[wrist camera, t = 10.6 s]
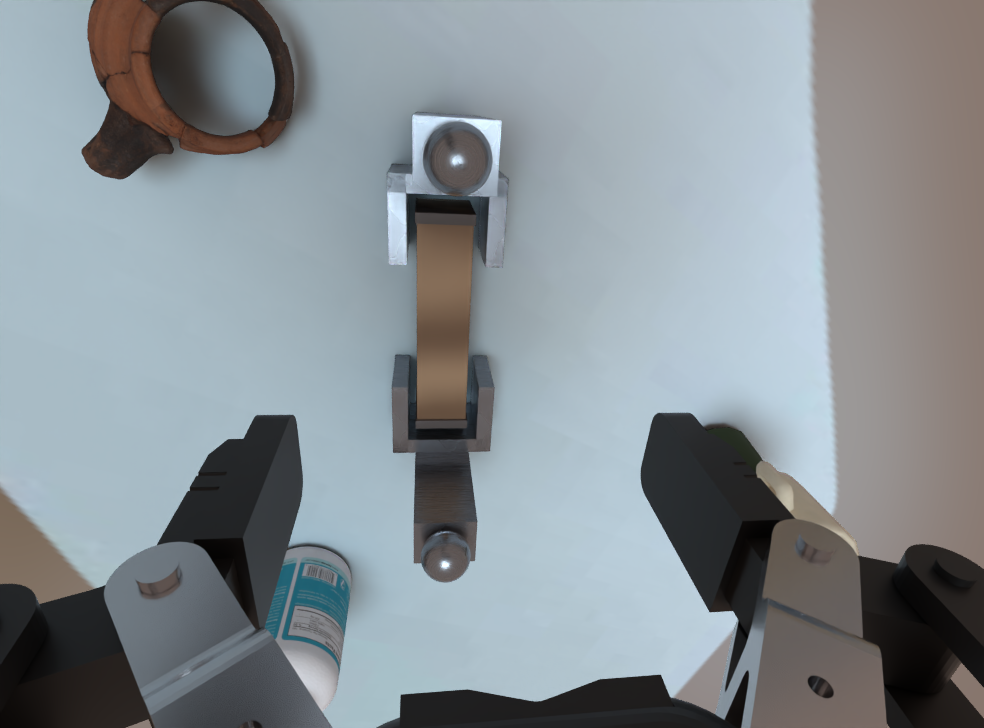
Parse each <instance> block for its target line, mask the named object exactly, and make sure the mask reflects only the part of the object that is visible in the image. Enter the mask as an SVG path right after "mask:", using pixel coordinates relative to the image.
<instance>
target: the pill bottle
mask: <svg viewBox="0 0 984 728" xmlns="http://www.w3.org/2000/svg"><path fill="white" fill-rule="evenodd" d="M351 580H352V579H351V573H350V570H349V568H348V566H347V564H346V563H345V562H344V561H343V560H342V559H341V558H340V557H339V556H338V555H336V554H335V553H333V552H331V551H328V550H326V549H322V548H318V547H297V548H293V549H289V550H287V551H286V555H285V558H284V562H283V565H282V569H281V572H280V576H279V579H278V583H277V586H276V590H275V593H274V597H273V600H272V604H271V607H270V611H269V614H268V618H267V621H266V625H265V628H266V629H267V630H268V631H269V632H270V633H271V635H272V636H273V637H274V639H275V640H276V642H277V643H278V645H279V647H280V648H281V650H282V651H283V653H284V654H285V656H286V657H287V659H288V660H289V662H290V663H291V665H292V666H293V668H294V670H295V671H296V673H297V674H298V676H299V677H300V679H301V680H302V682H303V683H304V685H305V686H306V688H307V690H308V691H309V693H310V694H311V696H312V697H313V699H314V700H315V702H316V703H317V705H318V706H319V708H320V709H321V711H323V710H324V709H325V708H326V707H327V706H328V705H329V704H330V702H331V701H332V699H333V697H334V695H335V693H336V689H337V685H338V678H339V672H340V664H341V657H342V650H343V642H344V635H345V628H346V621H347V613H348V606H349V599H350V591H351Z"/></svg>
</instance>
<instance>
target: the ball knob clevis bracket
mask: <svg viewBox="0 0 984 728" xmlns="http://www.w3.org/2000/svg"><path fill="white" fill-rule="evenodd" d="M501 122H502V121H501V120H495V119H490V118H485V117H480V116H471V115H455V114H439V113H424V112H416V113H415V114H413V115H412V133H413V165H404V164H392V165H391V167H390V168H389V170H388V172H387V197H388V241H389V264H392V265H407V257H408V248H409V193H416V194H438V195H451V196H481V198H480V219H479V240H478V248H479V251H480V253H481V256H482V259H483V261H484V264H485V267H498V268H503V253H504V239H505V224H506V210H507V195H508V181H509V179H508V178H507V177H506V176H505V175H504V174H502V173H501V172H500V171H499V155H500V139H501ZM493 399H494V384H493V380H492V376H491V372H490V368H489V364H488V360H487V356H473V364H472V385H471V403H466V416H467V428H431V429H416V403H410V355H395V364H394V373H393V381H392V419H393V453H412V452H416V457H415V497H414V563H422V566H423V569H424V571H425V572H426V573H427V575H428V576H429V577H431V578H432V579H434V580H436V581H438V582H452V581H454V580H456V579H458V578H460V577H461V576H462V575H463V574H464V573H465V571H466V570H467V568H468V566H469V563H470V561H475V551H476V534H477V516H476V508H475V500H474V492H473V484H472V477H471V469H470V461H469V453H468V452H476V451H490V443H491V428H492V414H493Z"/></svg>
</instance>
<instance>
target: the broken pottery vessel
mask: <svg viewBox="0 0 984 728" xmlns="http://www.w3.org/2000/svg"><path fill="white" fill-rule="evenodd" d="M194 1H209V2H214V3H218V4H222V5H225V6H227V7H229V8H230V9H232V10H234V11H235V12H237V13H238V14H240V15H241V16H243V17H244V18H245V19H246V20H247V21H248V22H249V23H250V24H251V25H252V26H253V27H254V28H255V29H256V31H257V32H258V33H259V35H260V36H261V38H262V39H263V41H264V42H265V44H266V46H267V48H268V51H269V53H270V55H271V59H272V64H273V67H274V73H275V91H274V97H273V101H272V105H271V107H270V110H269V112H268V115H269V116H268V118H267V119H266V120H265V121H264V122H263V124H262V125H261V126H260V127H258V128H257V129H255V130H254V131H252V130H248V131H246V132H244V133H241V134H237V135H231V136H220V135H214V134H209V133H206V132H203V131H201V130H199V129H197V128H195V127H193V126H192V125H190V124H188V123H186V122H184V121H183V120H182V119H181V118H180V117H179V116H178V115H177V114H176V113H175V112H174V111H173V110H172V109H171V108H170V107H169V105H168V104H167V103H166V101H165V100H164V98H163V97H162V95H161V93H160V91H159V89H158V87H157V85H156V82H155V79H154V76H153V73H152V67H151V57H150V54H151V45H152V40H153V36H154V33H155V31H156V29H157V27H158V25H159V24H160V22H161V20H162V18H163V16H165V15H166V14H167V13H168V12H169V11H170V10H172V9H173V8H175V7H177V6H179V5H181V4H184V3H188V2H194ZM88 41H89V47H90V54H91V59H92V63H93V66H94V70H95V73H96V76H97V79H98V81H99V83H100V85H101V87H103V89H104V91H105V92H106V95H107V97H108V98H109V100H110V104H109V109H108V112H107V115H106V118H105V120H104V122H103V124H102V126H101V128H100V130H99V132H98V133H97V134H96V135H95V136H94V137H93V139H92V140H91V141H90V142H89V143H88V144H87V145H86V146H85V147H84V148H83V149H82V155H83V157H84V159H85V161H86V163H87V164H88V165H89V167H90V168H91V169H93V170H94V171H95V172H97V173H99V174H101V175H102V176H105V177H110V178H115V179H124V178H126V177H128V176H130V175H131V174H132V173H133V172H134V171H136V170H137V169H138V168H140V167H141V166H142V165H143V164H144V163H145V162H146V161H147V160H148V159H149V158H151V157H152V156H154V155H157V154H161V153H164V154H172V153H173V151H174V149H173V146H172V143H171V141H170V140H169V138H168V136H169V135H170V136H173V137H175V138H178V139H179V142H180V148H182V149H184V150H188V151H193V152H198V153H207V154H213V155H226V154H240V153H244V152H248V151H251V150H253V149H256V148H258V147H260V146H261V147H263V148H265V147H267V146H269V145H270V144H271V143H272V142H273V141H274V140H275V139H276V138H277V137H278V136H279V134H280V133H281V132H282V130H283V129H284V127H285V125H286V120H287V119H289V118H290V116H291V113H292V106H293V99H294V73H293V66H292V61H291V57H290V54H289V50H288V47H287V45H286V43H285V42H283V39H282V37H281V34H280V30H279V28H278V26H277V24H276V23H275V21H274V20H273V18H272V17H271V15H270V14H269V13H268V12H267V11H266V10H265V8H264V7H263V6H262V5H261V4H260V3H259V2H258V1H257V0H146V2H143V1H142V0H94V1H93V4H92V6H91V10H90V13H89V20H88Z"/></svg>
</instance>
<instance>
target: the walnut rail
mask: <svg viewBox="0 0 984 728" xmlns="http://www.w3.org/2000/svg"><path fill="white" fill-rule="evenodd" d="M415 224H417V390H416V429H431V428H467V416H466V394H467V371H468V347H469V324H470V301H471V278H472V254H473V231H474V226H476V213H475V211H474V209H473V207H472V205H471V203H470V201H469V200H447V199H423V198H416V207H415Z"/></svg>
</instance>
